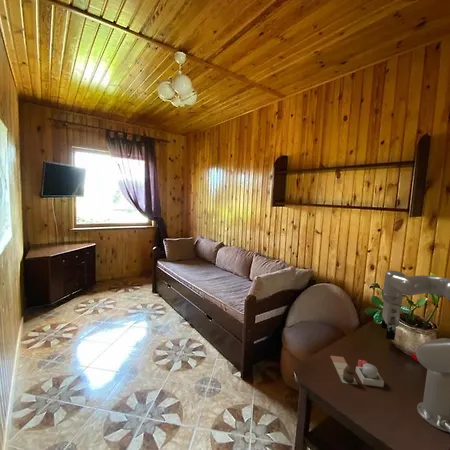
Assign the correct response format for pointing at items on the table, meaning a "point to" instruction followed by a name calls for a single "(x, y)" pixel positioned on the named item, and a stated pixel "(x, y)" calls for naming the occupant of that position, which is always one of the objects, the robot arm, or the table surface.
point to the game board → (342, 365)
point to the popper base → (367, 381)
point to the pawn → (348, 374)
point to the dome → (369, 371)
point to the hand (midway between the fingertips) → (387, 333)
